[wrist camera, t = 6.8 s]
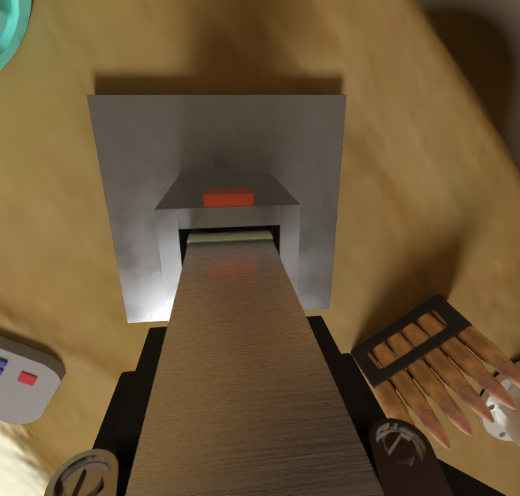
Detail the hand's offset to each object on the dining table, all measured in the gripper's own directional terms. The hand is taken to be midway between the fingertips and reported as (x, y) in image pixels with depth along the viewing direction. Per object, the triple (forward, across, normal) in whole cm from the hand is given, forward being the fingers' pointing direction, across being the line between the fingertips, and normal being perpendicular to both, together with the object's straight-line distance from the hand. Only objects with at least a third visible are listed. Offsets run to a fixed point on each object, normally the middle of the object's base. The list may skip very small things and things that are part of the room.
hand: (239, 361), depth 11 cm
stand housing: (+18, 0, 0) cm, 18 cm away
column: (+11, 0, 0) cm, 11 cm away
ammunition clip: (+18, -17, +13) cm, 28 cm away
